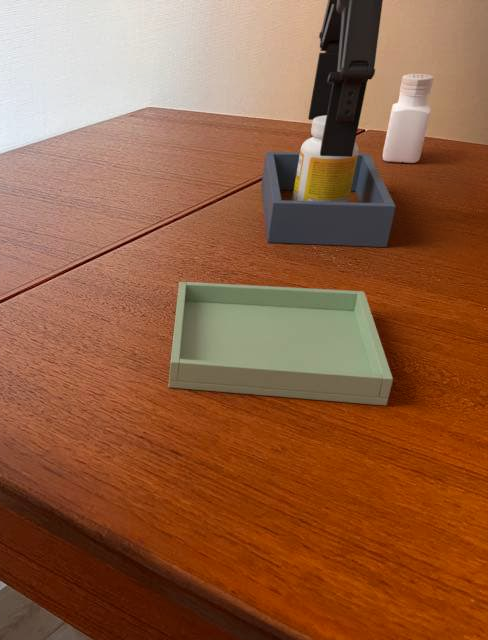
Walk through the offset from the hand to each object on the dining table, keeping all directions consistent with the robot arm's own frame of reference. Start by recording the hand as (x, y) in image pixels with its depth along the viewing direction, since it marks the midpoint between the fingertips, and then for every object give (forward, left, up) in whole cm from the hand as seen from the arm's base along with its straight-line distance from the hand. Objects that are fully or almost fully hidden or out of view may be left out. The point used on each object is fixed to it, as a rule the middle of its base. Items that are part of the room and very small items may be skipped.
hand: (328, 136), depth 85 cm
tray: (+6, +31, -8) cm, 33 cm away
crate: (0, 0, -8) cm, 8 cm away
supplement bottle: (0, 0, -8) cm, 8 cm away
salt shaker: (-11, -21, -8) cm, 25 cm away
